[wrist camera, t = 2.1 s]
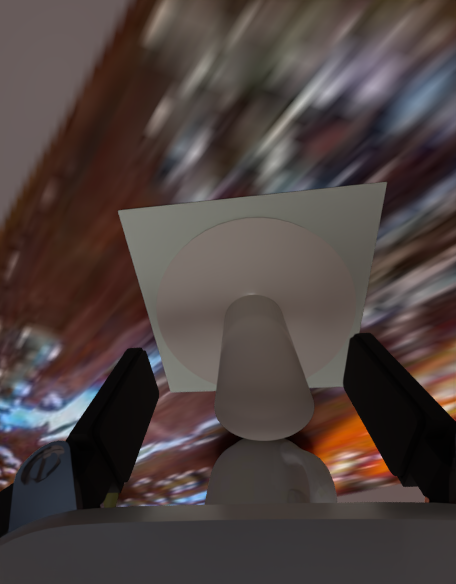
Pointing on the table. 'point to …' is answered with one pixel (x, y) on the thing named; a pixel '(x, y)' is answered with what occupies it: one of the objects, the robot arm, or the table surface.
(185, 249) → the lid
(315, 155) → the table surface
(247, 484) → the teacup
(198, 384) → the mat
